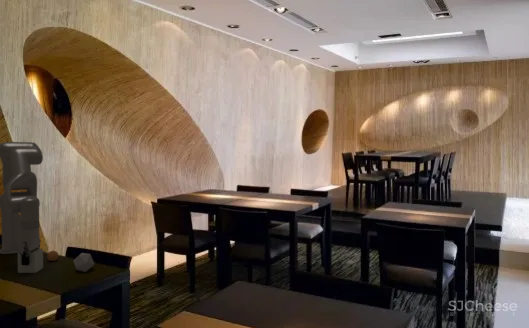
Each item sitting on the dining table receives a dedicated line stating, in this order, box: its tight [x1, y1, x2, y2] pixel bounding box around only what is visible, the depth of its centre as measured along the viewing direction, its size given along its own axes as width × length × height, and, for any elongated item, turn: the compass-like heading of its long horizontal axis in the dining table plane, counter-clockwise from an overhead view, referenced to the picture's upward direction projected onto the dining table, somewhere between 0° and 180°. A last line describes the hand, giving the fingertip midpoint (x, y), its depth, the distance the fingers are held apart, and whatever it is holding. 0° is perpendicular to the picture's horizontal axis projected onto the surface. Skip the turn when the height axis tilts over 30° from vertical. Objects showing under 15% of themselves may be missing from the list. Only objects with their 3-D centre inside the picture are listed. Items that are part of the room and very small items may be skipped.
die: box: [72, 252, 95, 273], centre depth 203 cm, size 8×9×10 cm
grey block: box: [17, 248, 44, 274], centre depth 202 cm, size 8×8×9 cm
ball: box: [46, 250, 59, 262], centre depth 218 cm, size 5×5×5 cm
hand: (30, 262), depth 201 cm, fingers open, 9 cm apart
